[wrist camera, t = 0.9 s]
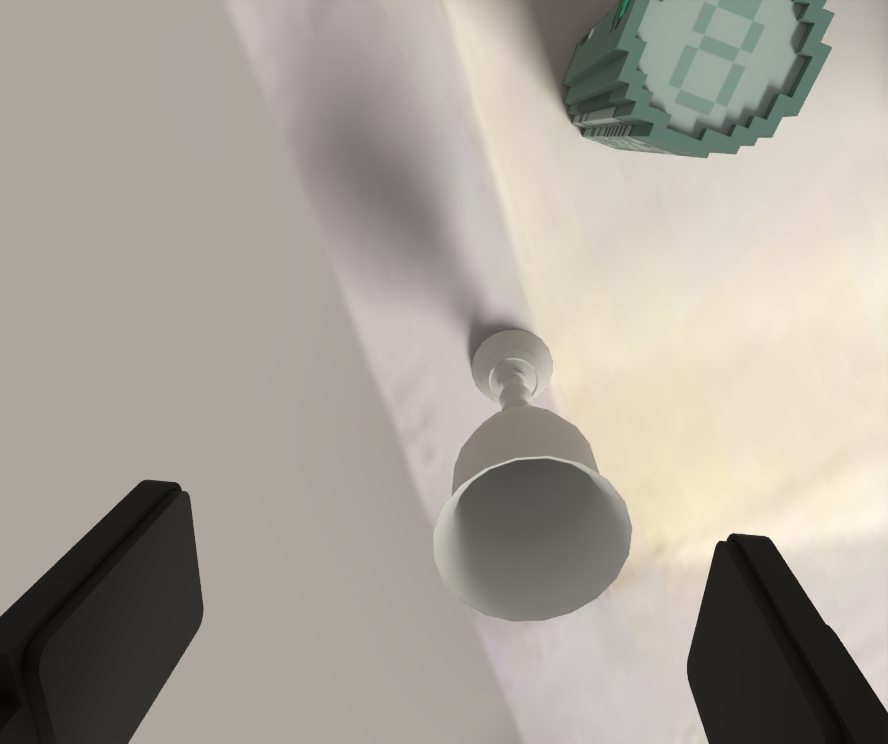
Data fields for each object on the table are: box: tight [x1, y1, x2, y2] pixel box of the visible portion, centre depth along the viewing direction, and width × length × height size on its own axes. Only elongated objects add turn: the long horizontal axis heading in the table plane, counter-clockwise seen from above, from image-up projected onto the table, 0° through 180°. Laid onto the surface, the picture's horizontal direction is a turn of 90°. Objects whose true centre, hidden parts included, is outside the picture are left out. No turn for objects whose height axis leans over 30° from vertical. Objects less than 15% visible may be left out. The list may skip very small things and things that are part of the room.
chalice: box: [434, 329, 632, 621], centre depth 31 cm, size 7×7×18 cm
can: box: [562, 0, 835, 158], centre depth 26 cm, size 6×6×15 cm
